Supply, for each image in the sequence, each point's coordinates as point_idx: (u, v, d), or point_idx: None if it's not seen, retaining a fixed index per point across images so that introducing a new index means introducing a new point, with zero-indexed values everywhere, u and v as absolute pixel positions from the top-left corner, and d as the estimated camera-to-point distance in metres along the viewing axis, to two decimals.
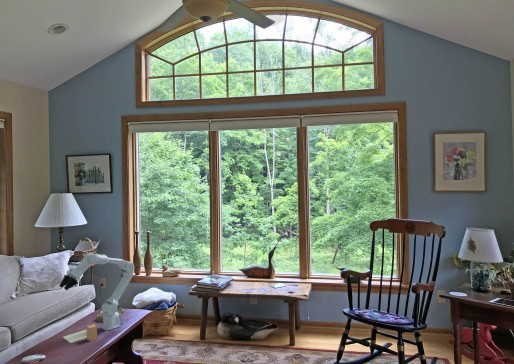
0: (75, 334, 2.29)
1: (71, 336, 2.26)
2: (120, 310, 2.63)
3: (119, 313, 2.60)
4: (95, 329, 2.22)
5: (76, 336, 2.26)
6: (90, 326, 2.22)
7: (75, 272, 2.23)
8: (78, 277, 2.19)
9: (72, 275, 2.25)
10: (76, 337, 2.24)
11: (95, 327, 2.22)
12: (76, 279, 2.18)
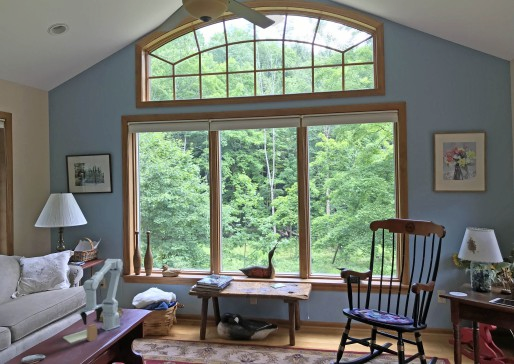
0: (75, 334, 2.29)
1: (71, 336, 2.26)
2: (120, 310, 2.63)
3: (119, 313, 2.60)
4: (95, 329, 2.22)
5: (76, 336, 2.26)
6: (90, 326, 2.22)
7: (95, 304, 2.23)
8: (103, 304, 2.28)
9: None
10: (76, 337, 2.24)
11: (95, 327, 2.22)
12: (103, 307, 2.28)
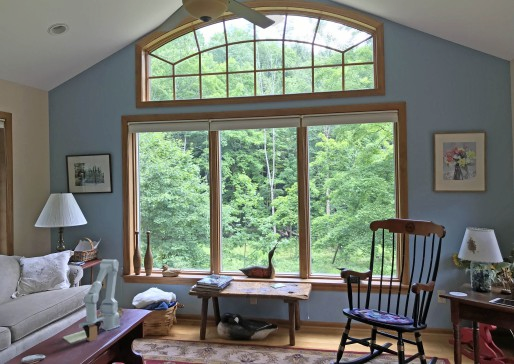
0: (75, 334, 2.29)
1: (71, 336, 2.26)
2: (120, 310, 2.63)
3: (120, 313, 2.60)
4: (95, 329, 2.22)
5: (76, 336, 2.26)
6: (90, 326, 2.22)
7: (96, 318, 2.23)
8: (103, 317, 2.28)
9: None
10: (76, 337, 2.24)
11: (95, 327, 2.22)
12: (103, 320, 2.28)
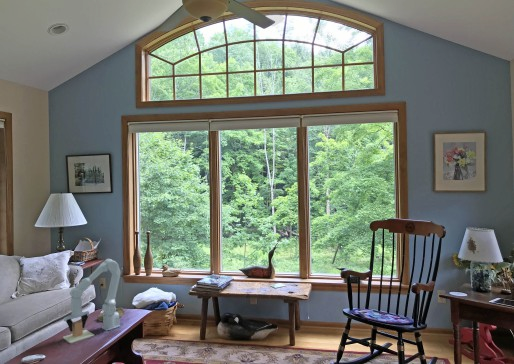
0: None
1: (71, 336, 2.26)
2: (121, 310, 2.63)
3: (120, 313, 2.60)
4: (80, 325, 2.27)
5: None
6: (75, 322, 2.27)
7: (81, 312, 2.28)
8: (88, 311, 2.33)
9: None
10: (76, 337, 2.24)
11: (80, 323, 2.27)
12: None
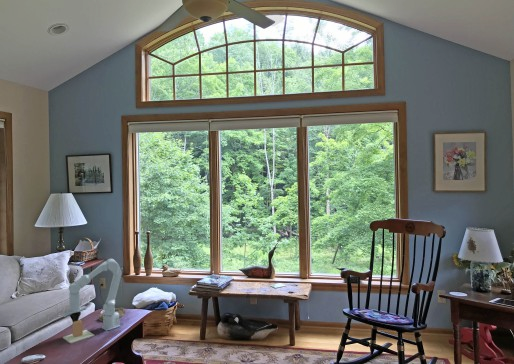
0: None
1: (71, 336, 2.26)
2: (122, 310, 2.63)
3: (121, 313, 2.60)
4: (81, 325, 2.27)
5: None
6: (76, 322, 2.27)
7: (79, 307, 2.31)
8: (85, 306, 2.36)
9: None
10: (76, 337, 2.24)
11: (81, 324, 2.27)
12: (85, 309, 2.36)
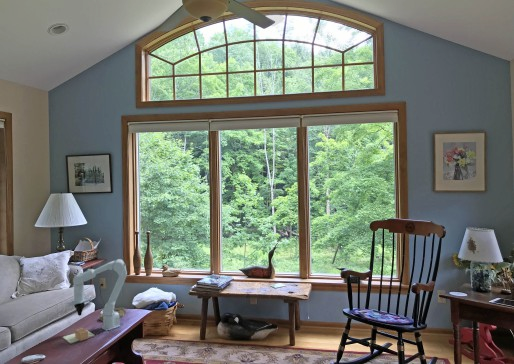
0: None
1: (71, 336, 2.26)
2: (123, 310, 2.64)
3: (122, 313, 2.61)
4: None
5: None
6: (82, 336, 2.20)
7: (83, 298, 2.35)
8: None
9: None
10: None
11: None
12: None
